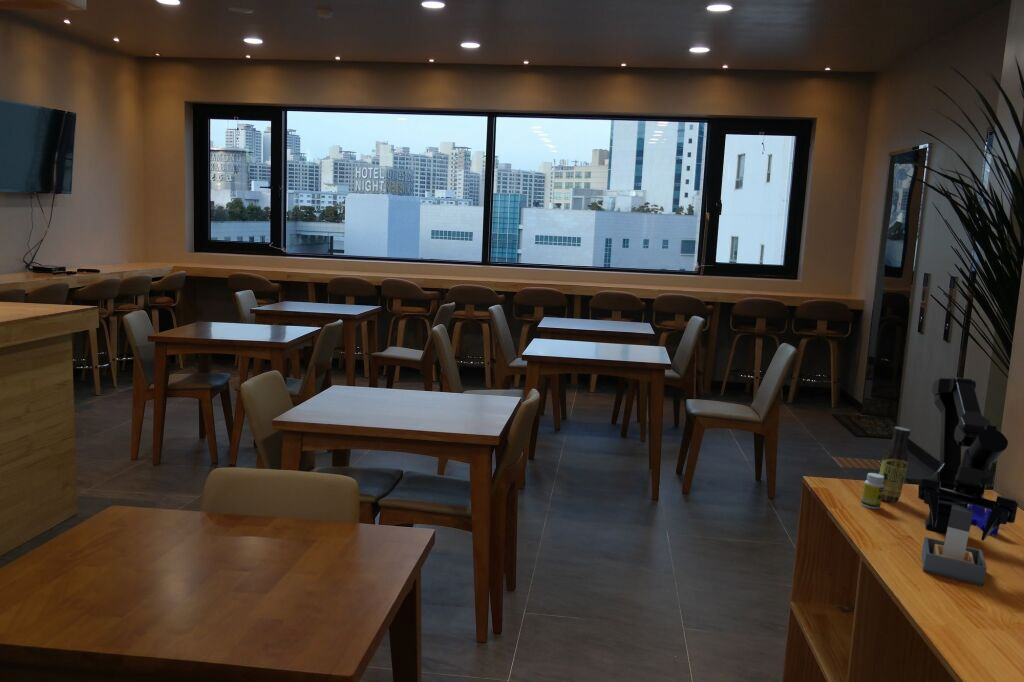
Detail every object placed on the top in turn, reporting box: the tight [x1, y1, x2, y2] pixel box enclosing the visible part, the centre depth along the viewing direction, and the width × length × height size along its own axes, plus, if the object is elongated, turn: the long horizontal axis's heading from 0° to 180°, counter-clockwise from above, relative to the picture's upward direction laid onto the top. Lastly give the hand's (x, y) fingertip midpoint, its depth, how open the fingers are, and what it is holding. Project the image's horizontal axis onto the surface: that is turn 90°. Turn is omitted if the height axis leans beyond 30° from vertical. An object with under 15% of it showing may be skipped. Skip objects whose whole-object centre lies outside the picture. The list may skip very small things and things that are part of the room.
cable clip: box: [967, 496, 1000, 536], centre depth 207 cm, size 12×4×6 cm, turn 169°
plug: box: [942, 504, 973, 560], centre depth 174 cm, size 4×4×13 cm
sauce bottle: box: [878, 426, 911, 503], centre depth 219 cm, size 6×6×20 cm
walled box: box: [921, 536, 988, 587], centre depth 175 cm, size 11×11×4 cm
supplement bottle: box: [860, 472, 884, 510], centre depth 212 cm, size 5×5×8 cm
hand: (957, 532), depth 173 cm, fingers open, 9 cm apart
